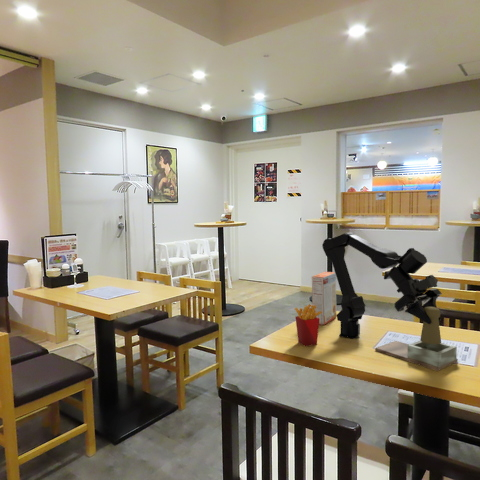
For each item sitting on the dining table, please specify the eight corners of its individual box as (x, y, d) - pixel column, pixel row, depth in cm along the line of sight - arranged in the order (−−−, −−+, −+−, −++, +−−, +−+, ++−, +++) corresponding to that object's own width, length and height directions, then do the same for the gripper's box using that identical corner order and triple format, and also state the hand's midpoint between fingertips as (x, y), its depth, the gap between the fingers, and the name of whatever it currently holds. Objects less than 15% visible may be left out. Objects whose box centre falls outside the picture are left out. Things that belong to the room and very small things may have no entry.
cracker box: (324, 316, 183) (324, 271, 182) (336, 317, 180) (336, 272, 178) (311, 323, 172) (311, 275, 170) (324, 325, 168) (324, 276, 167)
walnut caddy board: (375, 350, 138) (375, 336, 137) (396, 343, 144) (396, 329, 144) (437, 371, 120) (437, 354, 119) (457, 361, 126) (457, 346, 126)
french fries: (294, 342, 148) (294, 302, 147) (313, 338, 151) (313, 300, 150) (307, 349, 140) (307, 307, 139) (327, 346, 143) (327, 305, 142)
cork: (445, 343, 124) (446, 309, 123) (427, 344, 123) (428, 310, 122) (433, 337, 130) (434, 304, 129) (416, 338, 129) (417, 305, 128)
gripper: (403, 270, 123) (437, 312, 115) (436, 264, 133) (469, 303, 125) (381, 291, 130) (411, 332, 122) (414, 284, 140) (444, 321, 132)
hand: (435, 321), depth 125 cm, fingers closed on cork, 5 cm apart
